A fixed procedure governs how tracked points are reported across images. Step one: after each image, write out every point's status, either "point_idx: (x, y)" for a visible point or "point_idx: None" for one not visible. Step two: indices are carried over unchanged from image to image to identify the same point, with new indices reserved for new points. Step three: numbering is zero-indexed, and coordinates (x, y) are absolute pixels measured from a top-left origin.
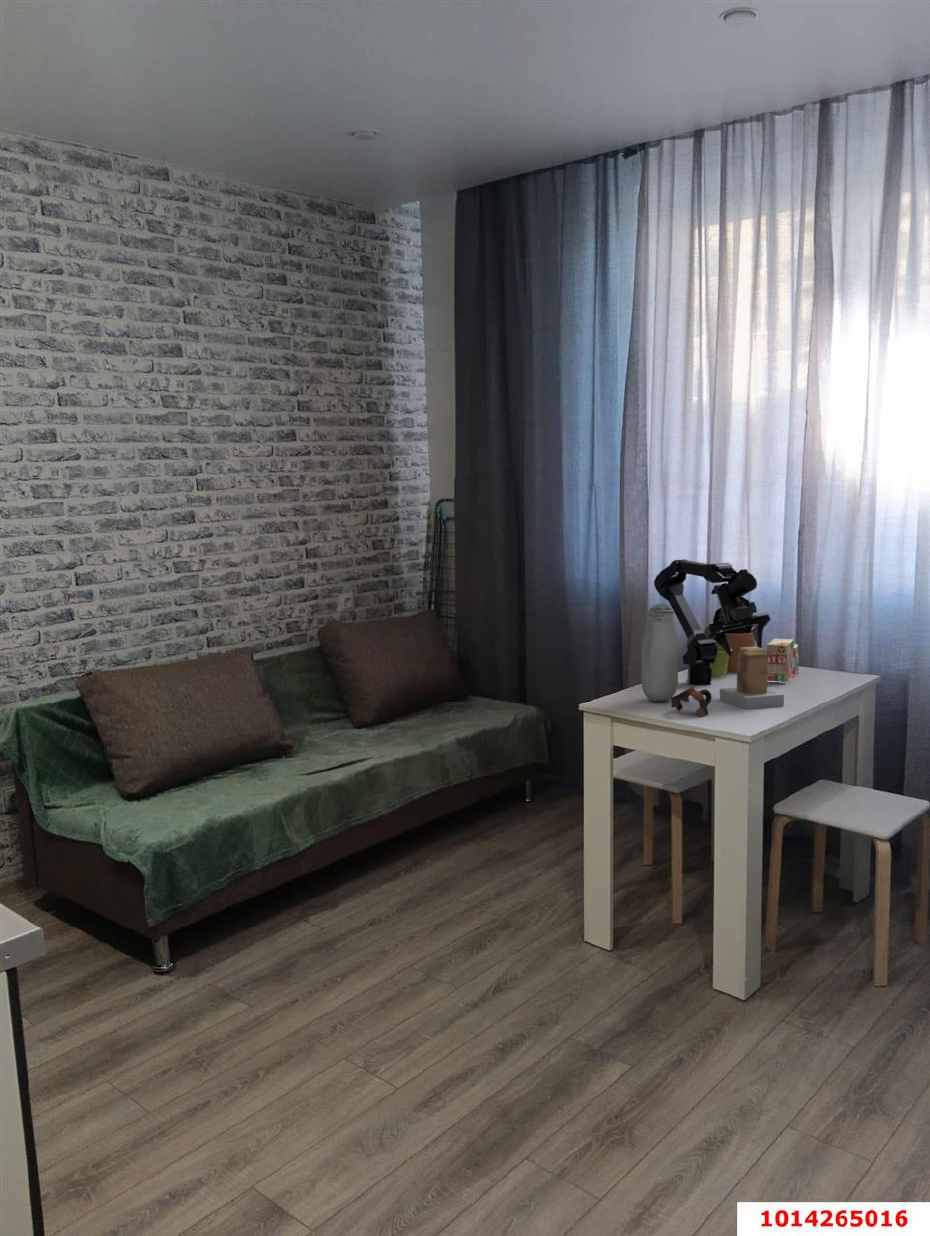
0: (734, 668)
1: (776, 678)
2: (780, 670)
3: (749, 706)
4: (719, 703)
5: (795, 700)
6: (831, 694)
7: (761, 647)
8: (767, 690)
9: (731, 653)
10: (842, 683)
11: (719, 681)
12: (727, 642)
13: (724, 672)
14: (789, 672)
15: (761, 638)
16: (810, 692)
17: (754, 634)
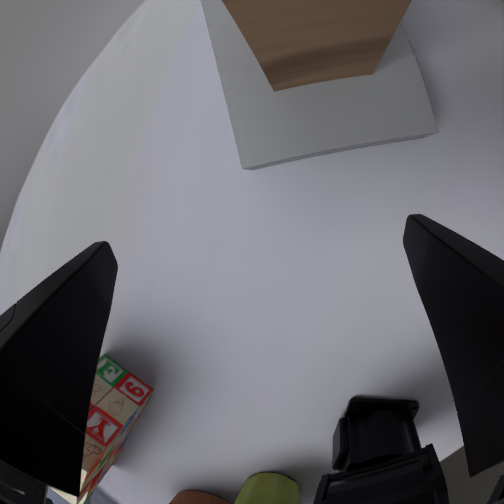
0: (209, 500)
1: (120, 378)
2: (95, 385)
3: None
4: (438, 67)
5: (139, 85)
6: (33, 180)
7: (89, 247)
8: (228, 61)
9: (414, 221)
10: (7, 309)
11: (295, 436)
12: (498, 281)
13: (253, 481)
14: None
15: (27, 295)
16: (66, 214)
17: (69, 425)
